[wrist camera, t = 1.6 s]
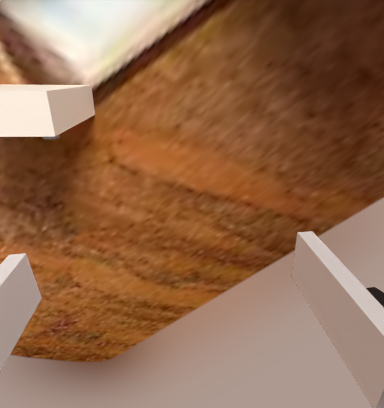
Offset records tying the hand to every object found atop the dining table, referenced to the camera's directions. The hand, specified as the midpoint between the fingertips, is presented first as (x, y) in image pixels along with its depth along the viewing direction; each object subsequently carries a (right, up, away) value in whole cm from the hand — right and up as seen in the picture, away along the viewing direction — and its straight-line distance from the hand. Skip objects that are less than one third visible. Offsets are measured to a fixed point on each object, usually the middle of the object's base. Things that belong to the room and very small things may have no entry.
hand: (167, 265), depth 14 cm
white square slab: (-14, +14, +16) cm, 26 cm away
